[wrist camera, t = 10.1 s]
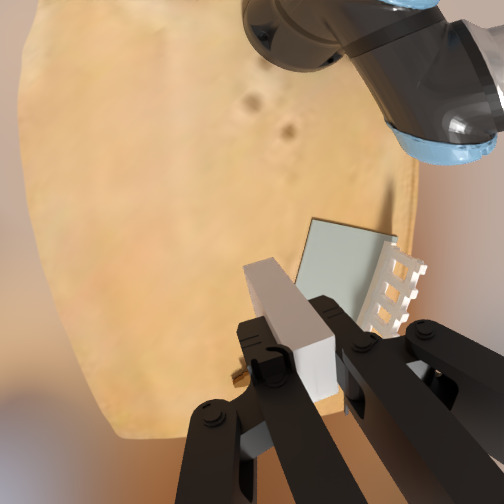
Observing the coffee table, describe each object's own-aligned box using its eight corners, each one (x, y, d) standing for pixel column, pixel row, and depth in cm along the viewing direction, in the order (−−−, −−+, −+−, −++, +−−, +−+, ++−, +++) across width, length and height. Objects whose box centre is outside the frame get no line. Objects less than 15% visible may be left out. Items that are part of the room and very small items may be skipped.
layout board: (312, 219, 43) (313, 219, 42) (397, 237, 47) (398, 237, 47) (272, 359, 50) (273, 360, 50) (352, 357, 55) (353, 358, 54)
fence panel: (362, 336, 52) (386, 364, 44) (355, 336, 51) (379, 365, 43) (394, 245, 47) (428, 263, 38) (387, 243, 46) (421, 262, 38)
